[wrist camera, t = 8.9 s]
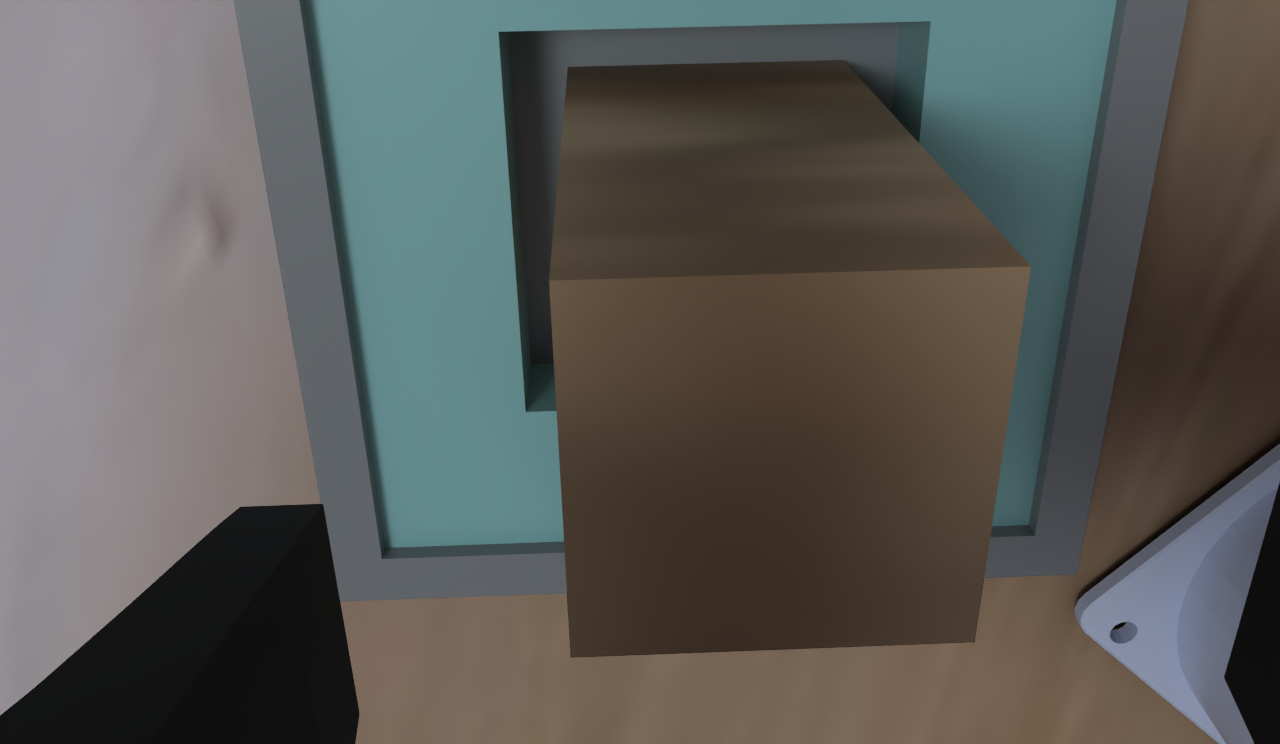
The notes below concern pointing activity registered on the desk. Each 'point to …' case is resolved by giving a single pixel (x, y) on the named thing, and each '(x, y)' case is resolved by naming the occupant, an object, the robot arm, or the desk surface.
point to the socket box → (524, 222)
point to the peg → (771, 365)
